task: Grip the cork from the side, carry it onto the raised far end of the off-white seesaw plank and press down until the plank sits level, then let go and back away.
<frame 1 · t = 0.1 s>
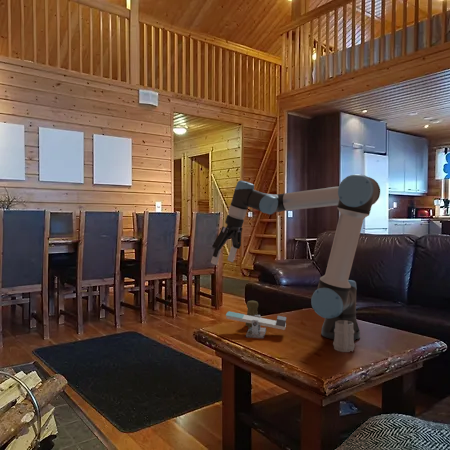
hand: (222, 262, 186), 28 cm above the table, tool tilted 20°, fingers open, 13 cm apart
stand: (256, 333, 174), on the table
beam: (256, 317, 174), point 7 cm above the table, hinge at -8.0°
cork: (252, 326, 186), on the table
mug: (344, 351, 153), on the table
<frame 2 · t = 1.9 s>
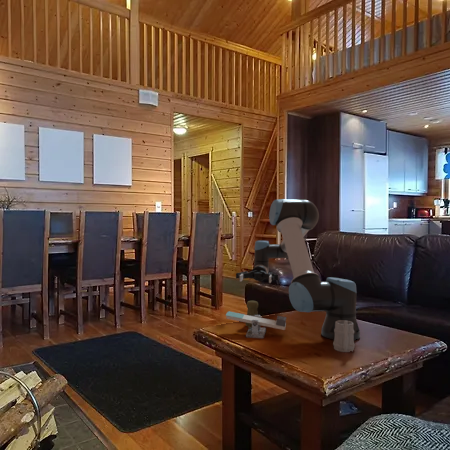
hand: (255, 279, 196), 19 cm above the table, tool horizontal, fingers open, 13 cm apart
nothing on the table moved.
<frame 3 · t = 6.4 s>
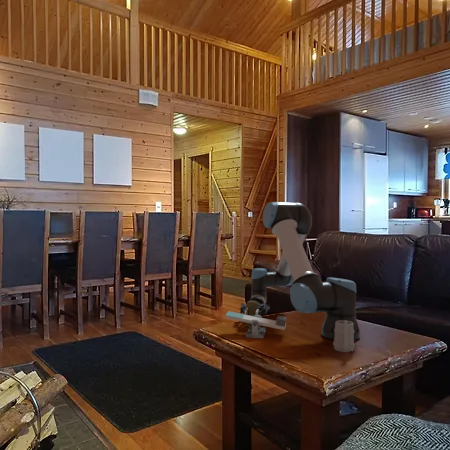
hand: (250, 315, 181), 6 cm above the table, tool horizontal, fingers closed on cork, 4 cm apart
cork: (252, 326, 186), on the table, touching gripper
everything else where it was.
when the fingers open (12 cm above the table, at t = 10.7 s): cork stays where it is, resting on beam.
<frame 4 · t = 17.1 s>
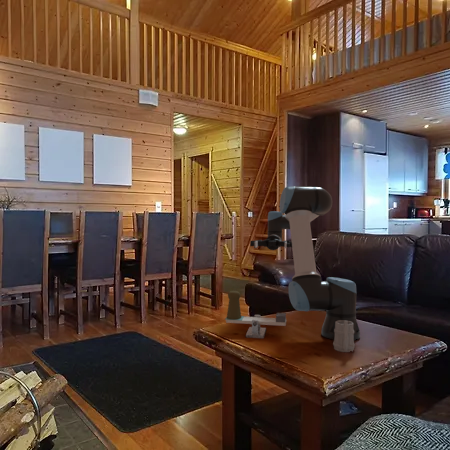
hand: (270, 245, 193), 35 cm above the table, tool horizontal, fingers open, 13 cm apart
beam: (255, 317, 174), point 7 cm above the table, hinge at 0.1°, touching cork
cork: (234, 318, 176), point 6 cm above the table, touching beam
everything else where it was.
at the end: beam at +0° (first picture: -8°); cork 0.3 cm from the target spot on the beam, point 0.5 cm above the beam's base; cork tilted 0° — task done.
